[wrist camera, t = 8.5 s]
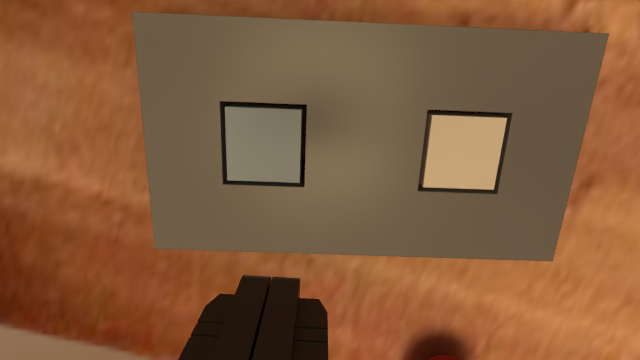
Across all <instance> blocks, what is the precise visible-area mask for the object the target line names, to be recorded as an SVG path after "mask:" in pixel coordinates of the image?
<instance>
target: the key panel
mask: <svg viewBox="0 0 640 360" xmlns="http://www.w3.org/2000/svg"><path fill="white" fill-rule="evenodd" d="M132 18H133V28H134V39H135V49H136V59H137V70H138V80H139V90H140V100H141V111H142V121H143V131H144V141H145V152H146V162H147V172H148V182H149V193H150V203H151V213H152V223H153V234H154V244H155V249H179V250H210V251H242V252H274V253H306V254H338V255H369V256H401V257H433V258H465V259H497V260H528V261H553V257H554V253H555V249H556V245H557V241H558V237H559V233H560V229H561V225H562V221H563V217H564V213H565V209H566V205H567V201H568V197H569V193H570V189H571V185H572V181H573V177H574V173H575V169H576V165H577V161H578V157H579V153H580V149H581V145H582V140H583V136H584V132H585V128H586V124H587V120H588V116H589V112H590V108H591V104H592V100H593V96H594V92H595V88H596V84H597V80H598V76H599V72H600V68H601V64H602V60H603V56H604V52H605V48H606V44H607V40H608V36H609V34H607V33H585V32H563V31H541V30H519V29H498V28H476V27H454V26H432V25H410V24H388V23H366V22H344V21H322V20H300V19H278V18H257V17H235V16H213V15H191V14H169V13H147V12H132ZM235 102H254V103H279V104H304V105H307V119H306V152H305V171H301V177H300V183H289V182H261V181H233V180H227V159H226V128H225V106H228V105H231V104H235ZM427 110H452V111H477V112H481V113H482V114H492V115H496V116H500V117H505V118H507V121H506V127H505V132H504V138H503V143H502V148H501V154H500V159H499V164H498V170H497V175H496V181H495V186H494V190H487V189H459V188H431V187H422V185H421V184H420V183H419V175H420V167H421V159H422V151H423V143H424V135H425V127H426V118H427Z"/></svg>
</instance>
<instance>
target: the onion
mask: <svg viewBox="0 0 640 360" xmlns="http://www.w3.org/2000/svg"><path fill="white" fill-rule="evenodd" d="M428 360H461V359H459V358H458V357H456V356H450V355H437V356H434V357H431V358H429V359H428Z"/></svg>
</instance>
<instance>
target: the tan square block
mask: <svg viewBox="0 0 640 360" xmlns="http://www.w3.org/2000/svg"><path fill="white" fill-rule="evenodd" d="M506 121H507V118H505V117H500V116H496V115H492V114H482V113H457V112H433V111H427V118H426V127H425V135H424V143H423V151H422V159H421V167H420V175H419V183H420V184H421V185H422V187H431V188H459V189H487V190H494V186H495V181H496V175H497V170H498V164H499V159H500V154H501V148H502V143H503V138H504V132H505V127H506Z"/></svg>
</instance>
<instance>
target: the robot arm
mask: <svg viewBox="0 0 640 360" xmlns="http://www.w3.org/2000/svg"><path fill="white" fill-rule="evenodd" d="M299 297H300V278H285V277H273V278H272V280H271V277H265V276H247V275H243V276H242V278H241V281H240V283H239V286H238V288H237V291H236V293H235V295H232V294H219V295H218V296H217V297H216V298H215V299H213V300H212V301H211V302H210V303H209V304H207V305H206V306H205V308H204V310H203V312H202V314H201V316H200V318H199V320H198V324H196V326H195V328H194V330H193V332H192V334H191V338H189V340H188V342H187V344H186V345H185V347H184V349H183V351H182V353H181V355H180V357H179V359H178V360H328V321H327V311H326V310H325V308H324V306H323V305H322V303H321V302H320V300H319V299H306V298H299Z"/></svg>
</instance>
